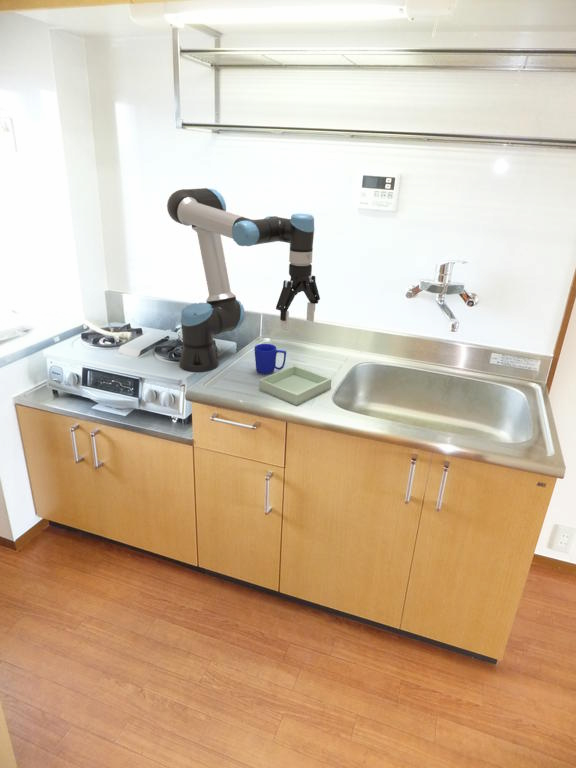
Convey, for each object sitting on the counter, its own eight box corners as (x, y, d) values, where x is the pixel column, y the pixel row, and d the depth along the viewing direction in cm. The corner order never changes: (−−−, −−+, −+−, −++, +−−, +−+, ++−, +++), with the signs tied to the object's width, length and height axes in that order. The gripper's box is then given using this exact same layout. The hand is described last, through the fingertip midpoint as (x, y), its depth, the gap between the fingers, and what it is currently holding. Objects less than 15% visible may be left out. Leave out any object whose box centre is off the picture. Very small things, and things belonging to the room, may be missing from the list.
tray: (258, 390, 178) (259, 379, 176) (293, 375, 190) (294, 365, 189) (296, 406, 167) (297, 395, 166) (330, 389, 180) (331, 378, 178)
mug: (283, 378, 188) (283, 353, 184) (252, 374, 190) (251, 350, 186) (287, 369, 195) (288, 345, 191) (257, 366, 197) (257, 342, 193)
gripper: (283, 270, 155) (281, 335, 164) (332, 260, 172) (328, 320, 181) (266, 266, 160) (264, 330, 169) (315, 257, 177) (312, 315, 186)
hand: (297, 325), depth 175 cm, fingers open, 13 cm apart
